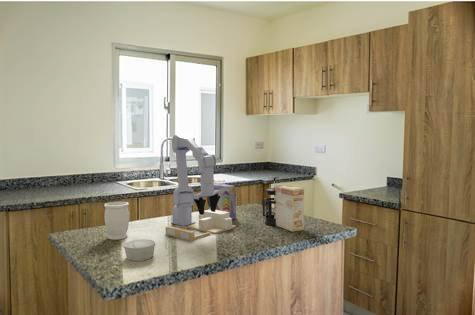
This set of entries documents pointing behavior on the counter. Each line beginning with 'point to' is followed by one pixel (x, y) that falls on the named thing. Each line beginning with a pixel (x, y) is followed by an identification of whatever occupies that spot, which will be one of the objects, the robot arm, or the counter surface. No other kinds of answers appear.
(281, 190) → the coffeecake box
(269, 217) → the french press
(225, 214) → the stand
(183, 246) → the counter surface
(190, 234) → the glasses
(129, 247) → the ramekin
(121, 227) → the jar
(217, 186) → the cake pan box
